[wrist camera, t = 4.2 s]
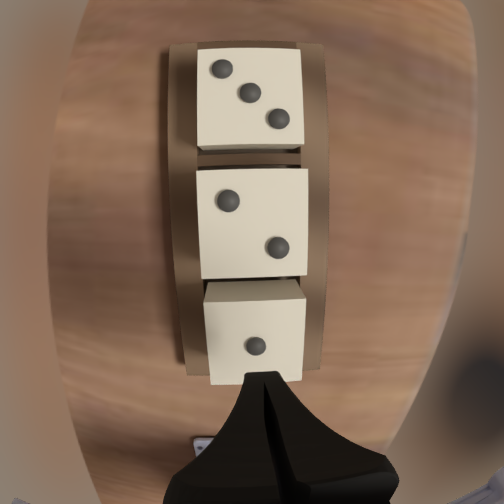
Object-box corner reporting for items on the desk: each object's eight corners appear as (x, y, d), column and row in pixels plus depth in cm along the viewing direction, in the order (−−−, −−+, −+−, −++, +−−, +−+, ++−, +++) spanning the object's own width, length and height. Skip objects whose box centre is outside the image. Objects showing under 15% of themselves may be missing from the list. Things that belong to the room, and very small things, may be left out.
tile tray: (315, 359, 21) (319, 369, 20) (189, 365, 21) (187, 375, 19) (318, 51, 16) (323, 44, 15) (173, 52, 16) (169, 45, 15)
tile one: (292, 353, 19) (302, 382, 16) (213, 356, 19) (210, 387, 16) (295, 279, 18) (307, 300, 15) (208, 282, 18) (202, 304, 15)
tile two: (295, 259, 18) (308, 276, 15) (206, 262, 18) (201, 280, 15) (295, 169, 17) (309, 168, 14) (203, 171, 17) (195, 170, 13)
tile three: (293, 149, 17) (305, 143, 14) (203, 150, 17) (196, 145, 14) (290, 67, 16) (301, 48, 13) (203, 68, 16) (197, 48, 13)
